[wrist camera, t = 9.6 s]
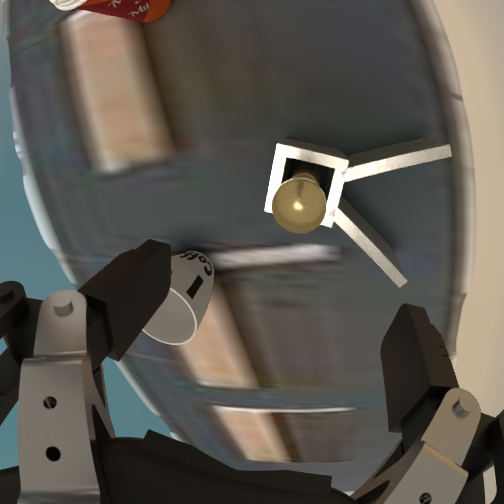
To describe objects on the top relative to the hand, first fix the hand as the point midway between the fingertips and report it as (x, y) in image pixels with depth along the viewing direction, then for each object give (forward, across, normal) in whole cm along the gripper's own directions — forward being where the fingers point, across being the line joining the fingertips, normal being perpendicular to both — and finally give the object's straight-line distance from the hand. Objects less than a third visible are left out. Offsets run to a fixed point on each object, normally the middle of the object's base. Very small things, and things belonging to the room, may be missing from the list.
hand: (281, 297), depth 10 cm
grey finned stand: (+23, -4, 0) cm, 23 cm away
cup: (+23, +11, +15) cm, 29 cm away
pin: (+23, 0, 0) cm, 23 cm away
